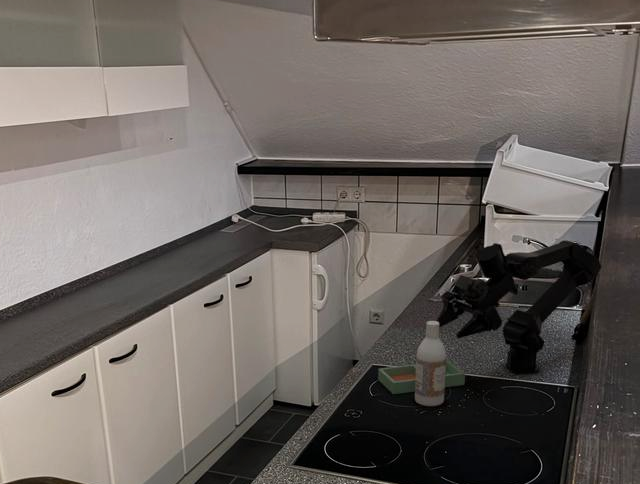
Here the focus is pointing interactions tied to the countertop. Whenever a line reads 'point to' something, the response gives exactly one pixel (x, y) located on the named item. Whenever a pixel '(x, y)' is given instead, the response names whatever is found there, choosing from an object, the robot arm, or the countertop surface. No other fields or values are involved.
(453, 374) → the tray
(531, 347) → the robot arm
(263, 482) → the countertop surface
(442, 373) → the bath foam
